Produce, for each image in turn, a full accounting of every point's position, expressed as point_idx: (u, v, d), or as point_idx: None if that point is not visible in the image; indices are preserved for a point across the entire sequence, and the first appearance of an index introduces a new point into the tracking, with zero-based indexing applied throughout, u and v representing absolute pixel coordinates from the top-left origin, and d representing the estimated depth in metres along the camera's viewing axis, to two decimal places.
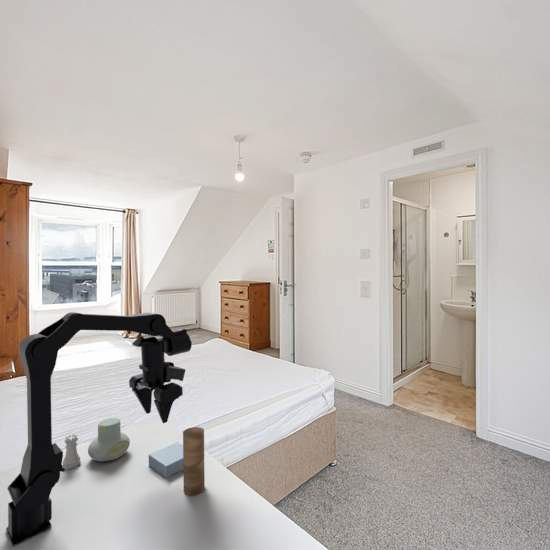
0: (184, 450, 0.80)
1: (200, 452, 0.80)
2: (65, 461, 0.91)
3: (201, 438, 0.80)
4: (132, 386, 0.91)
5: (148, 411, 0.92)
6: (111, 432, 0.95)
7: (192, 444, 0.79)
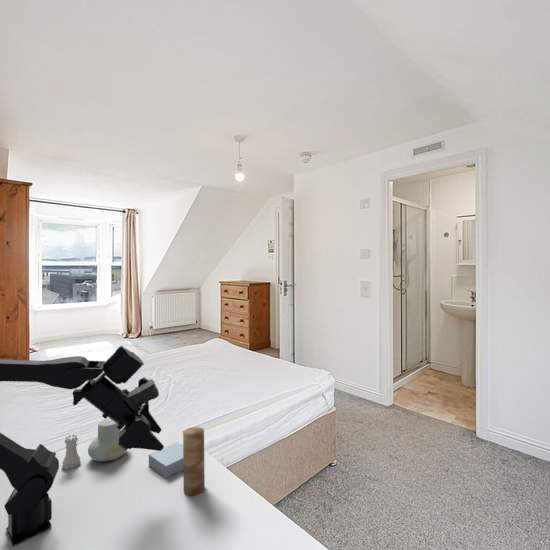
0: (184, 450, 0.80)
1: (200, 452, 0.80)
2: (65, 461, 0.91)
3: (201, 438, 0.80)
4: None
5: (158, 430, 0.83)
6: (111, 432, 0.95)
7: (192, 444, 0.79)
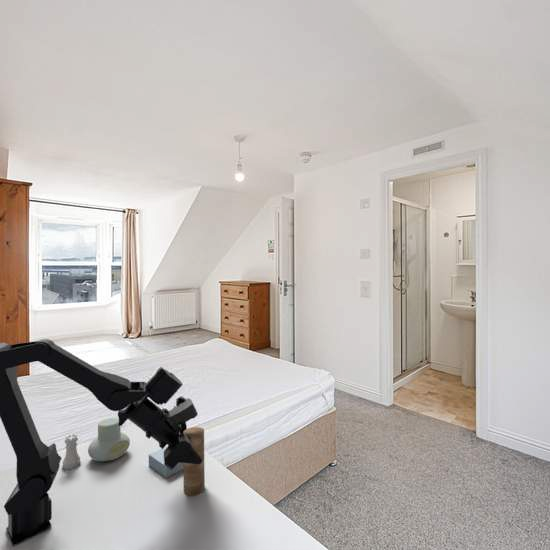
0: None
1: (200, 452, 0.80)
2: (65, 461, 0.91)
3: (201, 438, 0.80)
4: None
5: None
6: (111, 432, 0.95)
7: (192, 444, 0.79)
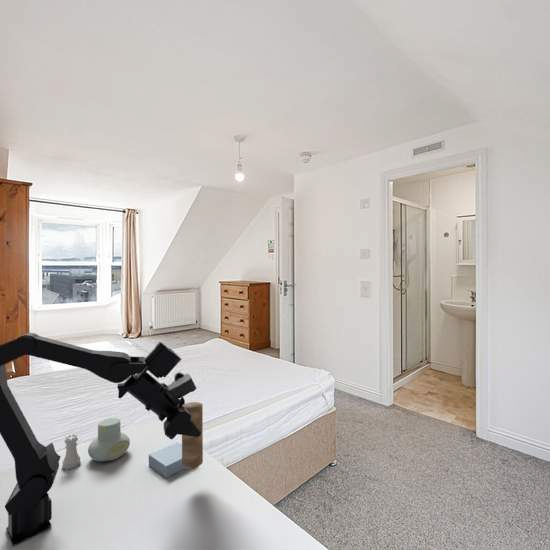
0: None
1: (198, 425, 0.81)
2: (65, 461, 0.91)
3: (200, 411, 0.82)
4: None
5: None
6: (111, 432, 0.95)
7: (191, 417, 0.80)
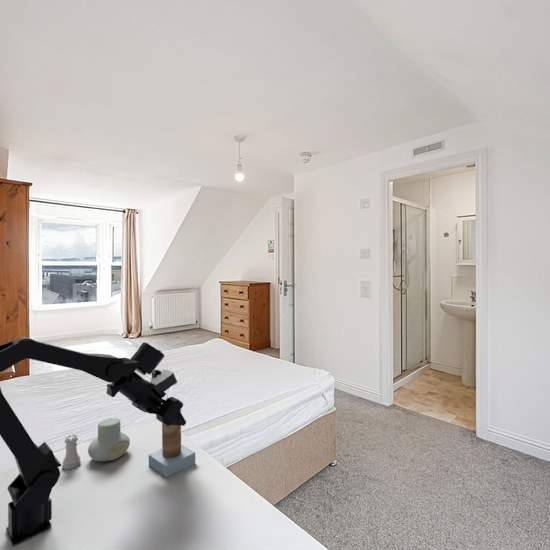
0: None
1: None
2: (65, 461, 0.91)
3: None
4: (138, 408, 0.93)
5: None
6: (111, 432, 0.95)
7: None
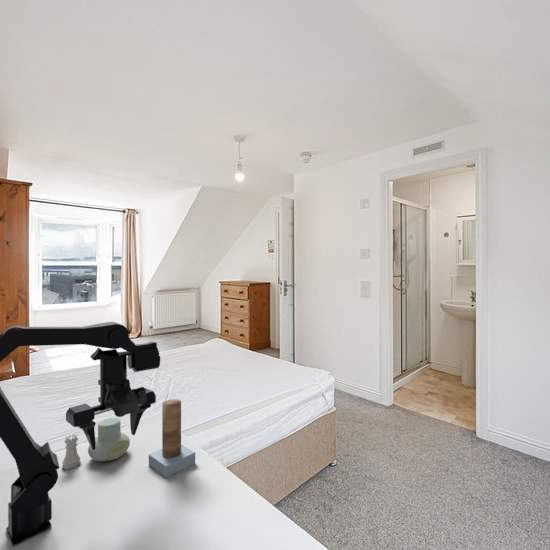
0: (165, 419, 0.90)
1: (179, 418, 0.92)
2: (65, 461, 0.91)
3: (180, 406, 0.93)
4: None
5: (132, 432, 0.82)
6: (111, 432, 0.95)
7: (174, 411, 0.91)
